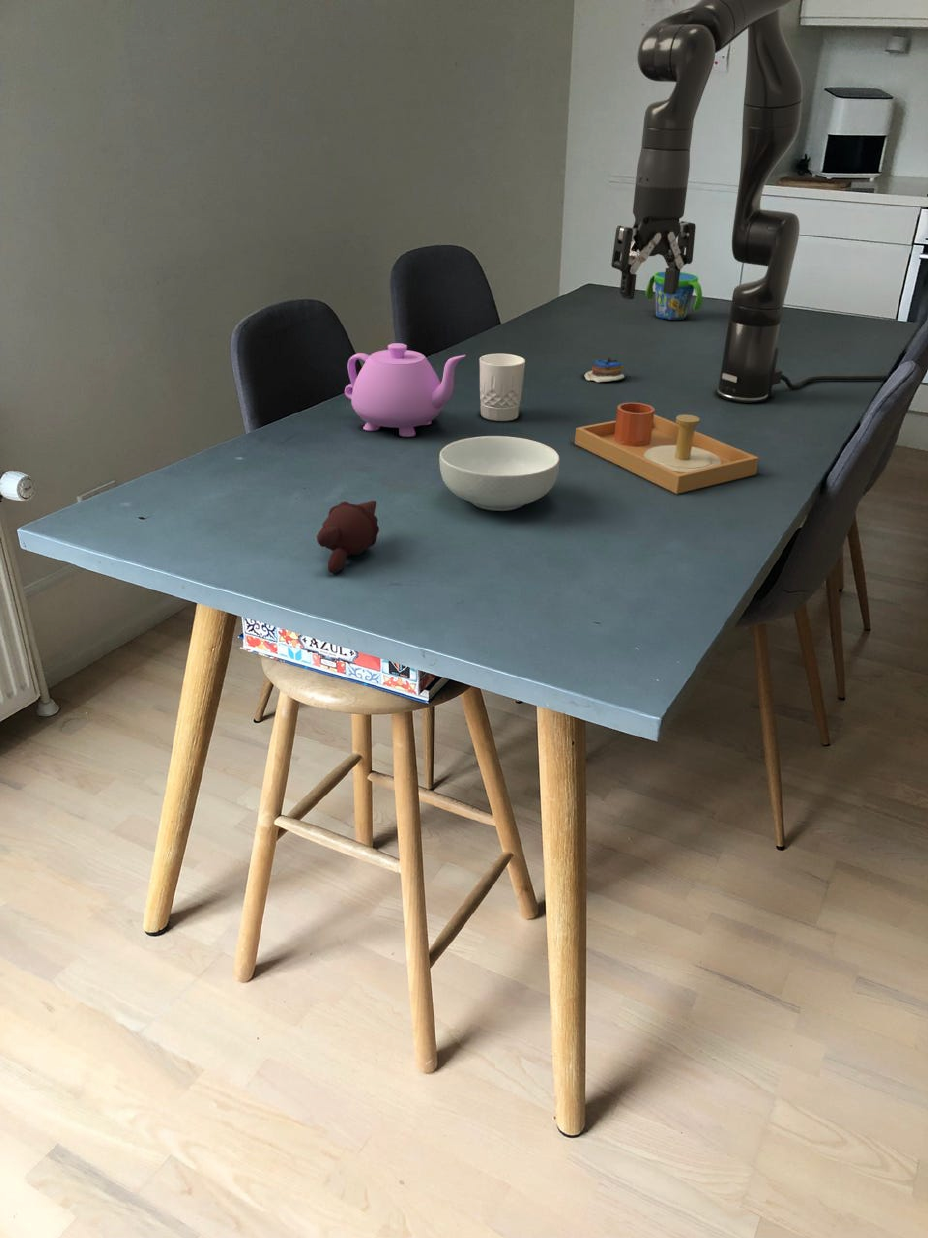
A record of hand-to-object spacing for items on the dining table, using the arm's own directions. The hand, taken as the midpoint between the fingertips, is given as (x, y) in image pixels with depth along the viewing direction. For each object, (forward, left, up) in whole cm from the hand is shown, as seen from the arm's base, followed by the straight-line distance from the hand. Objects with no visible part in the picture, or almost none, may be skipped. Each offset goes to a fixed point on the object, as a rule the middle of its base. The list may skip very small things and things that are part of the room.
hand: (648, 295), depth 155 cm
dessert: (-21, -33, -24) cm, 46 cm away
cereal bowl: (+33, +9, -24) cm, 42 cm away
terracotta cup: (0, 0, -23) cm, 23 cm away
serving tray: (0, +8, -24) cm, 25 cm away
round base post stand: (0, +12, -23) cm, 26 cm away
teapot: (+29, -26, -24) cm, 46 cm away
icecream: (+59, +14, -24) cm, 65 cm away
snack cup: (-70, -67, -24) cm, 100 cm away
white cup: (+11, -23, -24) cm, 35 cm away
